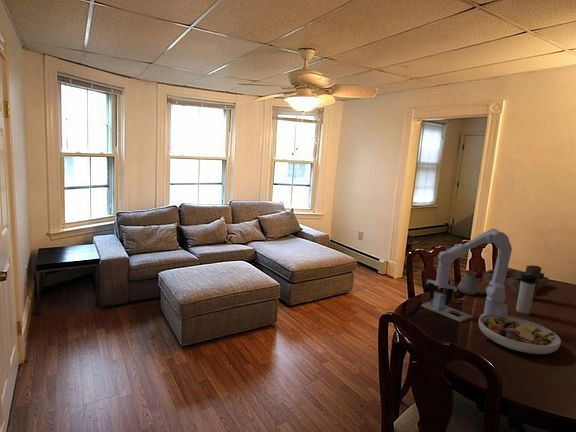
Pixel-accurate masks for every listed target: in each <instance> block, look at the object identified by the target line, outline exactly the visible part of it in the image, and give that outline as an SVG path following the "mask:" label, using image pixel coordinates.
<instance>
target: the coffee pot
mask: <svg viewBox="0 0 576 432" xmlns="http://www.w3.org/2000/svg"><path fill="white" fill-rule="evenodd" d="M476 267H477V264H476V263H474V264H472V267H471V270H468V269H467V270H464V273H465V274H464V275H463V277H462V279H461V280H460V282H459V283H458V285H457V290H459V291H460V292H461V294H464V295H469V296H475V295H476V294H478V293H479V292H480V288H479V285H478V282H477V279H476V276H477V275H478V273H477V272H476V271H475V269H476Z"/></svg>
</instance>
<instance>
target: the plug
mask: <svg viewBox="0 0 576 432" xmlns="http://www.w3.org/2000/svg"><path fill="white" fill-rule="evenodd" d="M446 299H447V294H445V293H442V292H437V293H434V298H433V306H432V307H434V308H437V309H439V310H443V309H444V307H445V306H446Z"/></svg>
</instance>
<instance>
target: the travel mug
mask: <svg viewBox="0 0 576 432" xmlns="http://www.w3.org/2000/svg"><path fill="white" fill-rule="evenodd" d="M536 278H537V277H536V276H530V275H523V276H522V278H521V283H520V288H519V292H518V293H517V294H518V296H517V300H516V301H517V302H516V307H515V312H516V313H517V314H520V315H523V316H524V315H525V316H529V315H531V309H532V305H533V304H532V303H533V300H532V299H533V294H534V288H535V282H536Z"/></svg>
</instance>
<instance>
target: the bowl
mask: <svg viewBox="0 0 576 432" xmlns="http://www.w3.org/2000/svg"><path fill="white" fill-rule="evenodd" d="M477 324H478V327H479V330H480V331H481V333H482V334H483V335H484V336H485V337H487V339H489V340H490V341H493V342H494V343H496V344H498V345H500V346H503V347H505V348H507V349H510V350H514V351H517V352H521V353H525V354H534V355H548V354H552V353H555V352H556V351H557V350H558V349H559V348H560V346H561V342H562V339H561V338H560V336H558V334H556V333H555V332H554V331H552V330H551V329H549V328H547V327H546V326H545V327H544V326H543V325H541V324H538V323H536V322H533V321H530V320H528V319H523V318H520V317H515V316H511V315H507V316H506V315H497V314H489V315H483V316H480V317H478V323H477Z"/></svg>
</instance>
